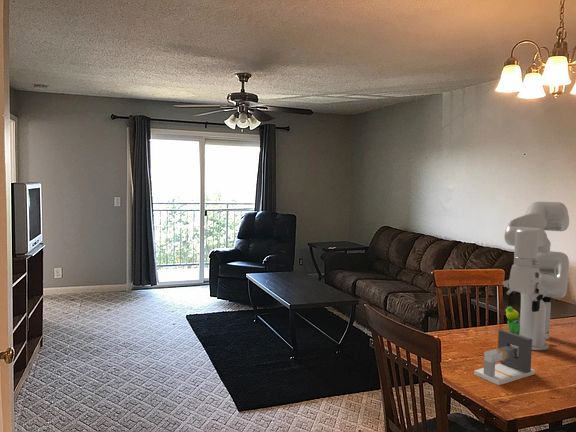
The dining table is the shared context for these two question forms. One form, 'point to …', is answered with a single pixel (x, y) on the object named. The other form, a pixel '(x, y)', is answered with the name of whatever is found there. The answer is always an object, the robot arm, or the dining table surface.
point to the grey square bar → (501, 353)
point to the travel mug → (547, 313)
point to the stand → (500, 373)
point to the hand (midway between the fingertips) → (523, 308)
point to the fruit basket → (513, 320)
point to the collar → (523, 352)
